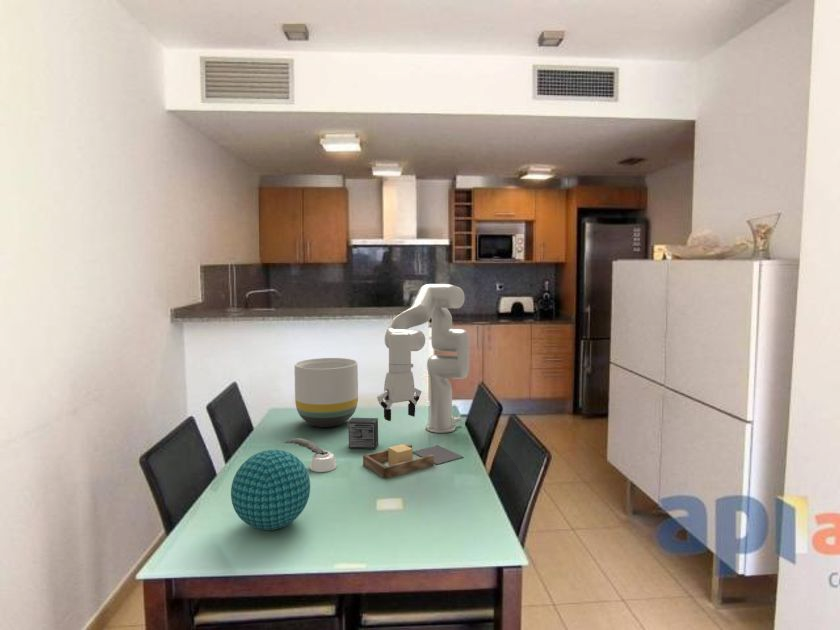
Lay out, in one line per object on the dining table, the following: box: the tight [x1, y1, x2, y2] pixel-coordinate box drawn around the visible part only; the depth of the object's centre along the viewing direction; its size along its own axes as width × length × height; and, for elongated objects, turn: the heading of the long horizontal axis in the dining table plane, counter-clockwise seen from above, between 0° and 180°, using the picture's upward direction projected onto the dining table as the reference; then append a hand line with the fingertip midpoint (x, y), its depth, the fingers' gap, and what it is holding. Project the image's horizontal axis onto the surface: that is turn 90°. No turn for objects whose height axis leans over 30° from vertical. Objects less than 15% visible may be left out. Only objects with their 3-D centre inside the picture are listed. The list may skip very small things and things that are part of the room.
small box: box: [348, 417, 379, 450], centre depth 199 cm, size 11×6×10 cm, turn 84°
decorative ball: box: [230, 449, 311, 531], centre depth 137 cm, size 20×20×20 cm
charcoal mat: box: [413, 444, 464, 466], centre depth 190 cm, size 12×15×1 cm
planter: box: [294, 357, 359, 428], centre depth 227 cm, size 27×27×27 cm
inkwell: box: [284, 437, 338, 473], centre depth 178 cm, size 9×18×10 cm, turn 91°
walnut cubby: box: [362, 443, 435, 480], centre depth 180 cm, size 20×14×4 cm
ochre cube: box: [388, 443, 414, 466], centre depth 180 cm, size 6×6×6 cm
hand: (399, 417), depth 179 cm, fingers open, 9 cm apart
